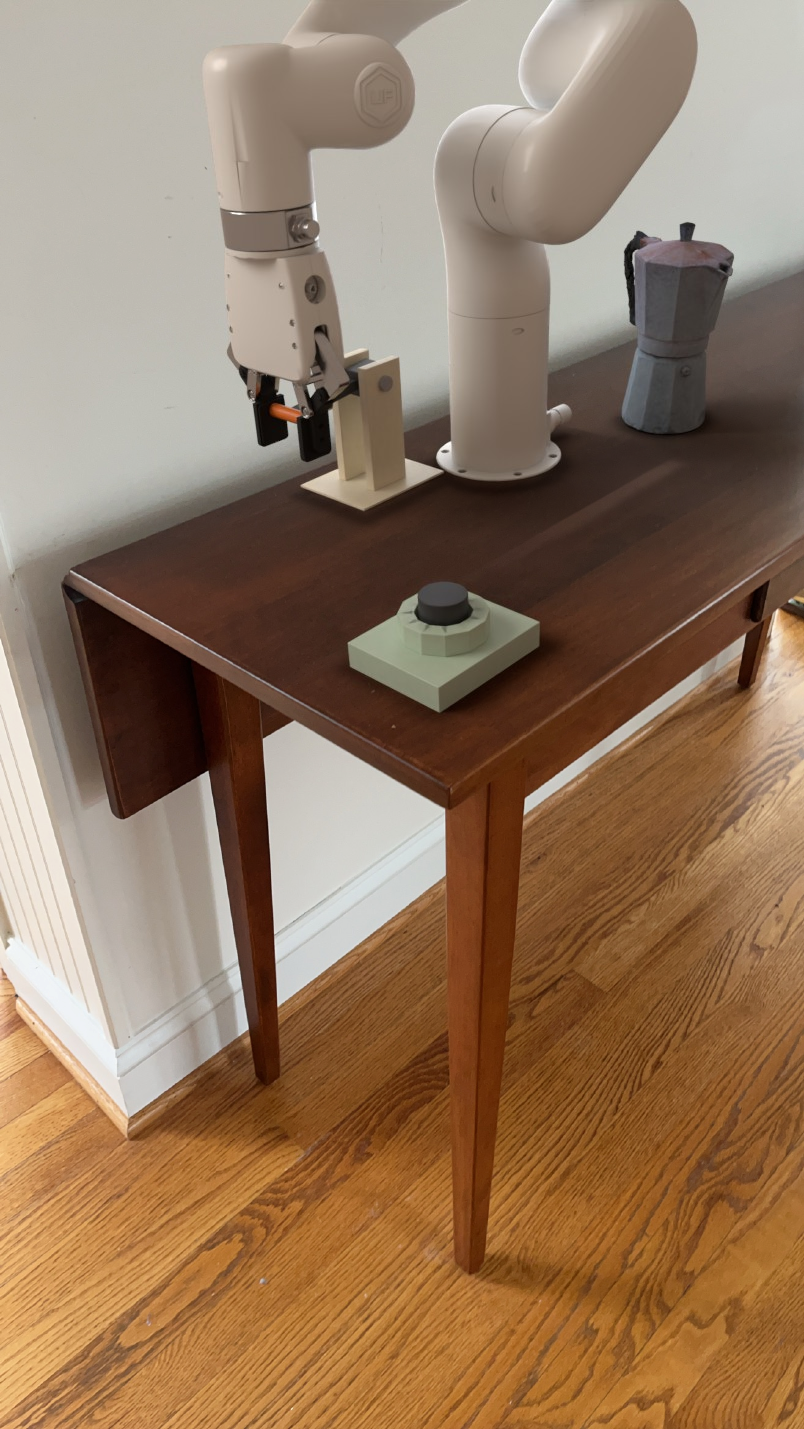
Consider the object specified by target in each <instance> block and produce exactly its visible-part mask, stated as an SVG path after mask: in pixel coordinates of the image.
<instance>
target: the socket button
mask: <svg viewBox="0 0 804 1429" xmlns="http://www.w3.org/2000/svg"><path fill="white" fill-rule="evenodd" d="M468 592H469V591H468V590H467V588H466V587H465V586H463V585H462V584H461V583H460V584H459V583H456V582H453V581H438V582H437V581H436V582H432V583H428V584H426V585H424V586H423V587H421V588H420V589H419V590H418V592H417V593H418V613H419V618H420V620H421V621H422V622H424V623H426V624H428V625H434V626H450V625H455V624H460V623H461V622H463V621H465V620H466V619H467V617H468V614H469V609H468Z"/></svg>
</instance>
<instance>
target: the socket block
mask: <svg viewBox="0 0 804 1429" xmlns="http://www.w3.org/2000/svg"><path fill="white" fill-rule="evenodd" d="M468 609H469V614H468V617H467V619H466V620H465V621H463V622H461V623H460V624H455V625H450V626H434V625H428V624H426V623H424V622H422V621H421V620H420V618H419V613H418V592H417V593H416V594H414V595H412V596H410V597H408V598H406V599H405V600H403V601H402V603H401V604H400V607H399V609H398V611H397V613H396V615H393V616H392V617H390V618H388V619H386V620H385V621H383V622H381V623H379V624H378V625H375V627H373V628H371V629H368V630H367V631H366V632H363V633H362V634H360V635H359V636H357V637H355V638H354V639H352V640H350V641H348V642H347V650H348V651H347V652H348V659H349V660H348V661H349V667H350V668H352V669H353V670H355V671H358V672H360V673H361V674H363V675H365V676H367V677H369V678H371V679H373V680H375V681H377V682H379V683H380V684H383V685H385V686H387V687H389V688H391V689H393V690H395V691H396V692H398V693H400V694H402V695H404V696H406V697H408V698H410V699H412V700H414V701H415V702H418V703H419V704H422V705H424V706H425V707H427V708H429V709H431V710H433V711H435V712H437V713H442V712H443V711H445V710H447V709H448V708H449V707H450V706H452V705H454V704H455V703H457V702H459V700H462V699H463V698H465V696H467V695H469V694H470V693H472V692H473V691H474V690H476V689H477V688H479V687H480V686H482V685H483V684H486V682H488V681H489V680H491V679H492V678H494V677H495V676H497V675H498V674H500V673H502V672H503V671H504V670H506V669H507V668H509V667H510V666H512V665H513V664H515V663H516V662H518V661H519V660H521V659H523V658H524V657H525V656H527V655H529V654H530V653H532V652H533V651H534V650H536V649H537V648H539V647H540V632H541V629H540V628H541V622H540V621H538V620H536V619H534V618H531V617H528V616H527V615H524V614H522V613H520V612H517V611H514V610H512V609H509V608H507V607H504V606H502V605H500V604H497V603H495V602H492V601H490V600H487V599H485V598H483V597H482V596H480V595H478V594H476V593H473V592H471V591H468Z"/></svg>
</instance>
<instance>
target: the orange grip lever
mask: <svg viewBox="0 0 804 1429" xmlns="http://www.w3.org/2000/svg"><path fill="white" fill-rule="evenodd" d="M375 361H376V360H374V359H370V358H369V359H366V358H365V359H363V360H361V361H359V362H357V363H355V364H353V365H351V366H349V367H347V368H345V371H346V373H347V375H348V377H349V379H350V384H349V385H348V386H347V387H346V388H345V389H344V390H343V391H342V392H341V393H340V394H339V396H338V398H337V399H336V400H335V401H334V402H336V401H338V400H340V399H342V398H344V397H346V396H348V395H350V394H352V395H355V396H359V397H360V391H359V379H358V368H359V367H361V366H364V365H367V364H370V363H372V362H375ZM270 414H271V415H272V416H273V417H276V418H279V419H282V420H285V421H287V423H288V422H289V423H292V424H295V425H297V418H296V417H299V416H301V412H300V409H299V405H298V403H297V404H296V405H293V406H290V407H289V406H287V405H285V406H284V405H281V404H278V403H274V404H272V405H271V407H270Z"/></svg>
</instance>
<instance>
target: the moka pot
mask: <svg viewBox="0 0 804 1429" xmlns="http://www.w3.org/2000/svg"><path fill="white" fill-rule="evenodd" d="M695 229H696V223H694V222H691V221H685V222H682V223H679V239H672V240H662V238H661V237H658V236H648V235H647V234H646V233H644V232H643V231H642V230H636V231H635V234H634V235H633V238H632V239H631V240H630V241H629V242H628V243H627V245H626V247H625V248H624V250H623V266H624V270H623V271H624V273H623V274H624V278H625V283H626V291H627V296H628V304H627V305H628V308H629V311H628V314H629V319H628V320H629V323H630V324H631V325H632V326H635V327H636V329H637V331H638V333H637V334H638V335H637V348H636V349H635V352H634V356H633V359H632V360H633V361H632V365H631V370H630V373H629V374H630V375H629V377H628V382H627V386H626V390H625V395H624V398H623V402H622V406H621V417H622V420H623V422H624V423H625V424H626V425H628V426H630V427H632V428H634V429H636V430H637V431H642V432H645V433H650V434H655V435H675V434H676V435H677V434H683V433H687V432H690V431H693V430H696V429H697V428H699V427H701V425H702V424H703V423H704V421H705V420H706V397H707V396H706V390H707V389H706V382H707V352H706V350H707V349H708V346H709V341H710V340H709V339H710V334H711V333H712V332H713V331H715V328H716V324H717V321H718V318H719V313H720V310H721V306H722V303H723V299H724V295H725V291H726V287H727V285H728V281H729V277H732V276H733V273H734V268H733V263H734V261H735V254H734V253H733V252H732V251H731V250H729V249H728V248H727V247H726V246H724V245H723V244H720V243H716V242H711V241H710V242H709V241H703V240H696V239H693V236H694V232H695ZM633 255H634V257H633ZM633 259H634V263H633Z"/></svg>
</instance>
